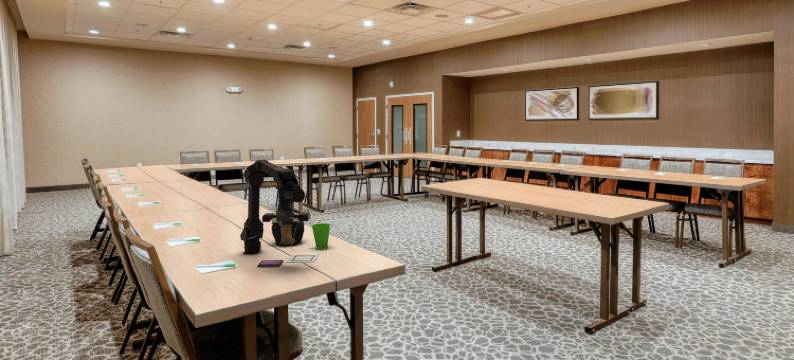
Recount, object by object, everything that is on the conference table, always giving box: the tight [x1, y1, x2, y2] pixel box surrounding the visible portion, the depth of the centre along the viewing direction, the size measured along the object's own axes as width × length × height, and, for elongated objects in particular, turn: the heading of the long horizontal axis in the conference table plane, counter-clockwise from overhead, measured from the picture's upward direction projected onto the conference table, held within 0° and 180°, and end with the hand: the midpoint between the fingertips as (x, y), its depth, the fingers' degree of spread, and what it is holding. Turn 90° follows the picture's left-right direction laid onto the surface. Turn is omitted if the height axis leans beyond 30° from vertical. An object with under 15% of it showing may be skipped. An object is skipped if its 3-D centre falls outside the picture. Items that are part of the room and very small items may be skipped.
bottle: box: [271, 213, 305, 247], centre depth 237 cm, size 16×16×30 cm
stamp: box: [280, 225, 295, 244], centre depth 199 cm, size 5×5×7 cm
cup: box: [310, 222, 331, 250], centre depth 228 cm, size 9×9×11 cm
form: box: [286, 254, 320, 264], centre depth 211 cm, size 12×11×1 cm
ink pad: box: [257, 259, 284, 268], centre depth 203 cm, size 9×7×1 cm
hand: (287, 237), depth 200 cm, fingers closed on stamp, 4 cm apart
